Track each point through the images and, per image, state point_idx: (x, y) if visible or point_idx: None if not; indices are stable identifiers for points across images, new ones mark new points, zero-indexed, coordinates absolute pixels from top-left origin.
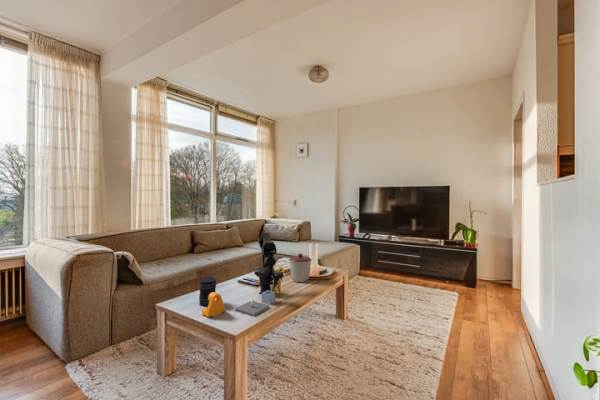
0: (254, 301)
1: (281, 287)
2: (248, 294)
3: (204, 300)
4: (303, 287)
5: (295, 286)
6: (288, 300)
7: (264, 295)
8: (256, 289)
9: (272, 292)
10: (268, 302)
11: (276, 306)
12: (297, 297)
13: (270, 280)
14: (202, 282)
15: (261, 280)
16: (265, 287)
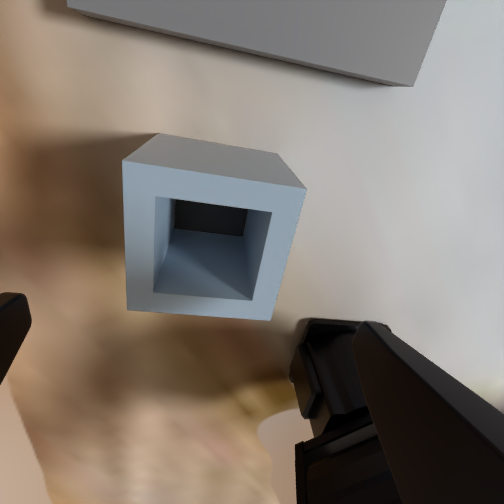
0: (358, 72)
1: (267, 455)
2: (478, 279)
3: None
4: (133, 497)
5: (190, 490)
6: (56, 311)
7: (241, 171)
8: None
9: (152, 281)
10: (167, 138)
11: (40, 118)
12: (39, 385)
13: (312, 502)
14: None
15: (479, 436)
16: (349, 388)
